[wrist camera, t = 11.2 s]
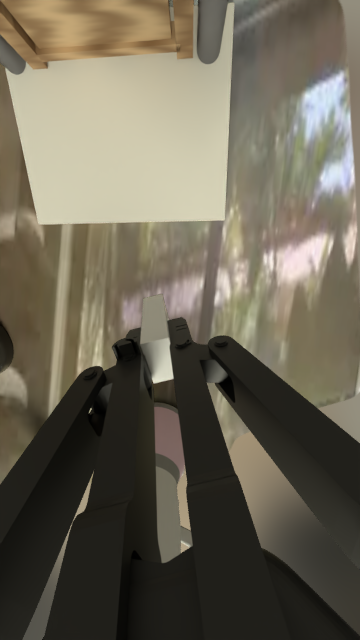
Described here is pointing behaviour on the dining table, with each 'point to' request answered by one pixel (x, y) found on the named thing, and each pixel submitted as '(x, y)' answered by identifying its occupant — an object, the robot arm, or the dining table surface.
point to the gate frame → (129, 129)
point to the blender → (169, 481)
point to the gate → (95, 28)
